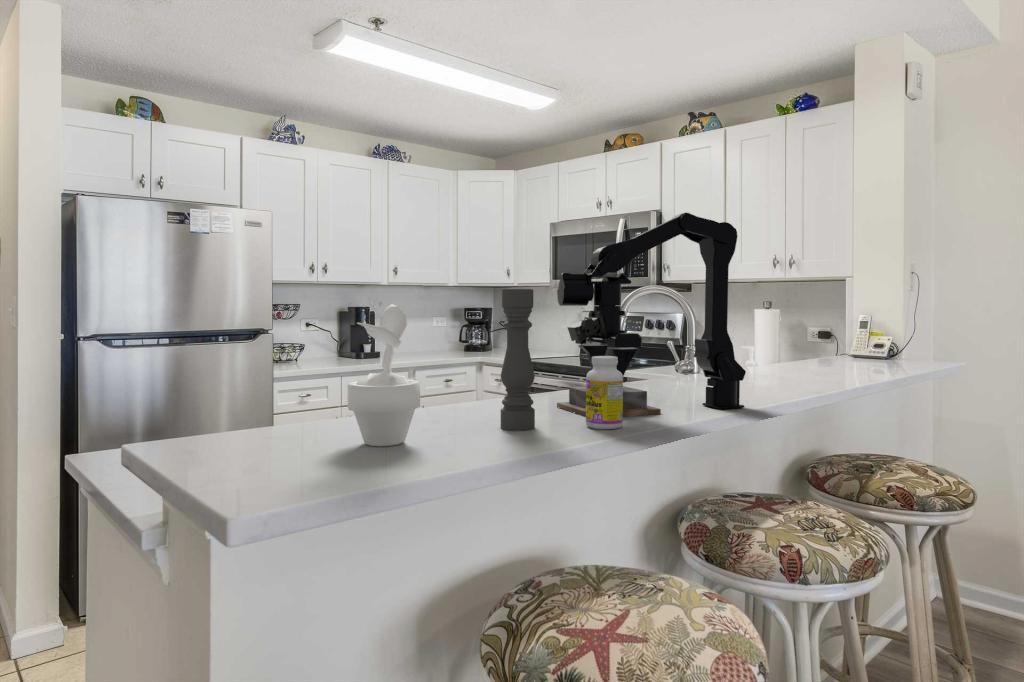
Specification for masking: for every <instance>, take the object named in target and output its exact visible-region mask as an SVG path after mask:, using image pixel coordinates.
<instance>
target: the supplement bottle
mask: <svg viewBox="0 0 1024 682" xmlns="http://www.w3.org/2000/svg"><path fill="white" fill-rule="evenodd" d="M617 363H618V357H615V356H612V355H605V356H594V357H592V365H593V369H591V370H589V371H588V372H587V374H586V378H585V379H586V380H585V382H586V383H585V385H586V386H585V387H586V417H585V423H586V424H585V425H586V426H587V427H588V428H590V429H594V430H603V431H605V430H616V429H617V430H618V429H620V428H621V427H622V426H623V420H624V419H623V418H624V416H623V386H624V376H623V375H622V373H621V372H620V371H618V370H617V367H616V365H617Z"/></svg>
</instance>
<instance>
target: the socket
mask: <svg viewBox="0 0 1024 682" xmlns="http://www.w3.org/2000/svg"><path fill="white" fill-rule="evenodd" d="M558 407H560V408H559V409H561V408H563V409H562V410H564V409H566V410H565V411H567V410H569V411H568V412H570V411H572V412H571V413H573V412H575V413H574V414H576V413H577V414H576V415H579V414H580V416H582V417H585V418H586V386H575V387H574V386H572V387H569V388H568V401H562V402H556V408H558ZM661 412H662V411H661V408H658V407H654V406H650V405H648V391H647V390H642V389H637V388H633V387H629V386H628V387H627V386H624V385H623V417H634V416H647V415H649V416H650V415H661Z"/></svg>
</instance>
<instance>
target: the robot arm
mask: <svg viewBox="0 0 1024 682" xmlns="http://www.w3.org/2000/svg"><path fill="white" fill-rule="evenodd" d="M680 235H682V236H683V237H685V238H687V239H688V240H690V241H691V242H693V243H696V244H698V245H699V252H700V255H701V258H702V261H703V262H704V265H705V285H704V288H705V289H704V290H705V291H704V296H705V298H704V332H703V334H702V336H701V338H695V339H694V347H695V349H694V354H693V357H694V358H696V363H697V365H698V366H699V368H701V370H702V372H703V374H704V377H705V378H707V380H706V381H707V382H706V383H707V384H706V385H705V402H702V406H705V407H709V408H714V409H719V410H726V409H727V410H728V409H741V408H745V405H744V404H740V397H741V395H740V392H741V391H740V389H741V388H740V387H741V386H740V385H741V384H740V383H741V381H744V379H745V376H746V373H747V371H746V370H745V369H744V367H743V366H741V364H739V362H738V361H737V360H736V357H735V351H734V344H733V342H732V340H731V337H730V334H729V332H728V312H729V311H728V310H729V308H728V307H729V267H730V262H731V261H732V259H733V257H734V254H735V253H736V246H737V241H738V231H737V228H736V227H734V226H733V224H732V223H729V222H726V221H722V222H718V221H716V220H712V219H708V218H704V217H700V216H697V215H694V214H692V213H690V212H683V213H680V214H677V215H675V216H673V217H672V218H670V219H668V220H667V221H665V222H662V223H661V224H658V225H656V226H655V227H652V228H650V229H648V230H646V231H643V232H642V233H640V234H638V235H636V236H634V237H631V238H629V239H627V240H623V241H619V242H615V243H612V244H609V245H605V246H602V247H598V248H597V249H595V250H594V251H593V252H592V255H591V257H590V264H589V265H588V266H587V268H586V269H585V271H584V272H583V273H570V272H562V273H560V279H559V282H558V288H557V291H556V294H557V296H556V298H557V302H558V305H559V307H562V306H563V307H568V306H569V307H584V306H585V307H586V306H588V304H589V302H592V301H593V310H590V311H589V312H588V317H587V318H585V319H582V320H580V321H576V322H575V323H573V324H570V325H568V326H567V330H568V334H569V337H570V340H571V342H574V341H575V342H574V343H575V344H577V345H578V347H579V348H580V349H582V351H583V352H585V354H586V355H587V359H588V361H589V364H590V365H589V366H590V368H591V370H592V369H593V365H592V357H594V356H606V354H607V352H608V353H609V354H610V356H615V357H618V363H617V365H616V367H617V370H618V371H620V372H621V373H622V375H623V377H624V375H626V372H627V369H628V367H629V365H630V363H631V362H632V359H633V358H634V357H635V355H636V353H637V352H638V351H639V348H643V337H642V336H641V335H640V334H639V333H637V332H626V331H625V330H623V329H622V316H626V310H622V285H630V284H632V280H630V279H629V278H628V277H627V276H626V275H625V272H621V273H618V274H617V276H613V275H612V276H605V275H607V274H613V273H617V272H619V271H621V270H622V269H623V268H625V267H626V266H628V265H629V264H630V263H632V261H634V260H635V259H636V258H637V257H639V255H642V254H643V253H645V252H648V251H649V250H651V249H653V248H655V247H658V246H659V245H661V244H663V243H665V242H668V241H669V240H672V239H674V238H676V237H677V236H680ZM602 277H603V278H602ZM596 278H602V279H601V280H598V281H597V280H596V281H592V279H596ZM606 344H607V345H606Z"/></svg>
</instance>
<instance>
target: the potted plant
mask: <svg viewBox="0 0 1024 682" xmlns="http://www.w3.org/2000/svg"><path fill="white" fill-rule="evenodd" d="M371 292H372V291H371V289H370V290H369V298H368V300H367V303H368V304H369V312H370V313H372V311H371V310H372V305H373V303H374V302H375V301H374V300H373V299H372V293H371ZM363 317H364V319H363V322H356V324H357V325H360V326H361V327H364V329H365V330H366V333H367V335H369V336H370V337H372V338H373V339H374V340H376V342H378V343H379V344H380V343H381V344H383V345H385V349H384V352H383V356H382V363H381V364H382V365H381V366H382V370H383V371H381V372H376V373H374V372H373V373H372V372H371V373H368V375H367V378H366V379H364V380H363V379H362V380H355V381H350V382H347V383H346V385H347V386H346V388H347V390H346V391H347V409H348V411H352V412H353V413H354V416H355V419H356V423H357V425H358V428H359V431H360V434H361V436H362V437H361V438H362V439H363V443H364V444H366V445H368V446H371V447H379V448H380V447H383V448H384V447H393V446H397V445H400V444H402V443H404V442H406V438H407V436H408V432H409V429H410V426H411V423H412V419H413V417H414V413H415V410H416V409H418V408H421V382H420V381H418V380H413V379H407V378H406V376H405V375H400V374H398V373H395V372H393V371H392V361H393V357H394V353H395V348H396V349H398V348H399V346H400V345H401V343H402V341H401V340H400V339H401V337H402V335H403V334H404V332H405V330H406V327H407V325H408V322H407V321H408V320H407V314H406V313H405V312H404V311H403V309H401V308H400V307H399V306H398V305H395V304H392V303H391V304H390V305H388V306H387V307H386V308H384V309H383V312H382V313H381V315H380V318H379V325H373V324H371V323H370V324H369V323H367V322H366V317H367V316H366V315H364V316H363Z"/></svg>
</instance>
